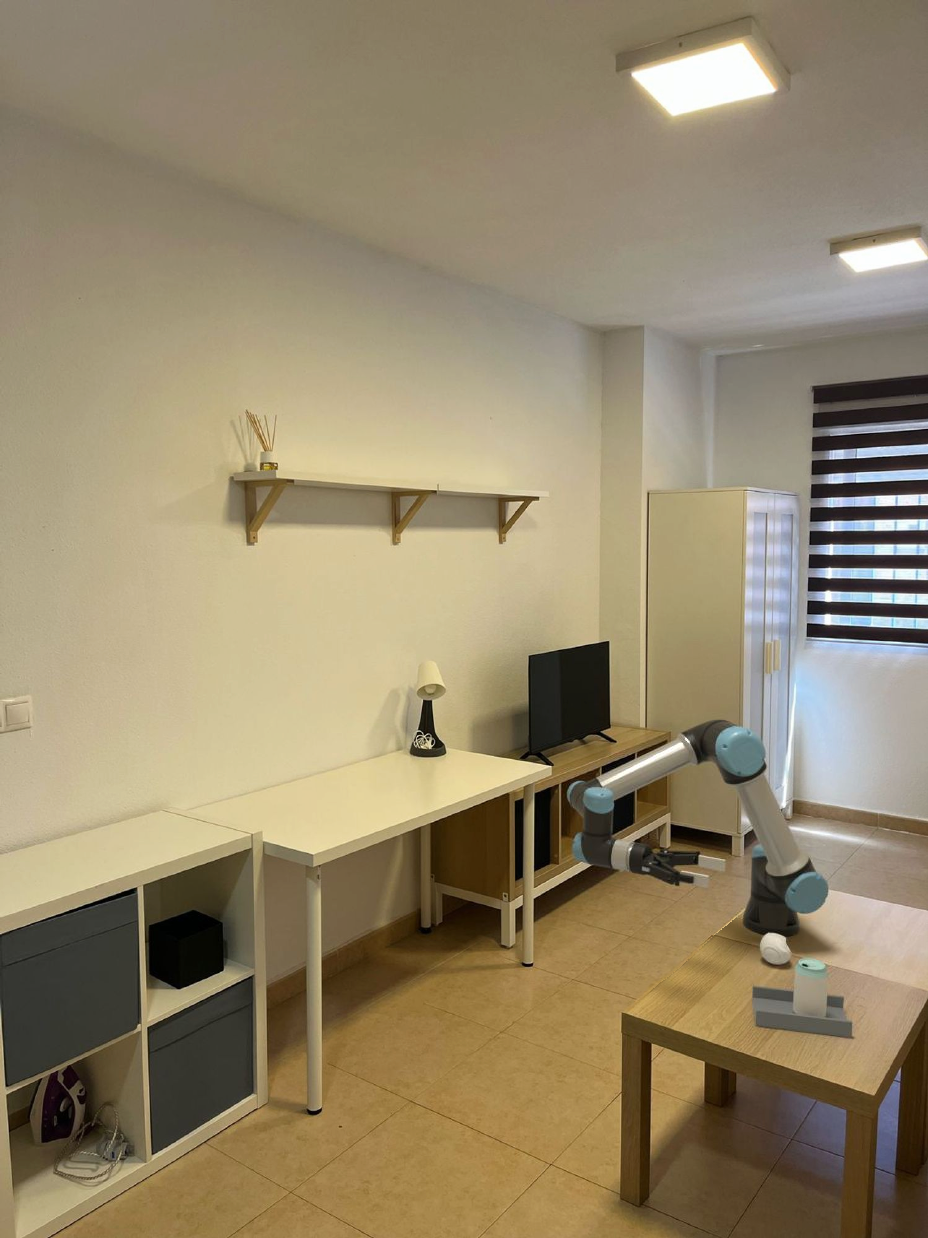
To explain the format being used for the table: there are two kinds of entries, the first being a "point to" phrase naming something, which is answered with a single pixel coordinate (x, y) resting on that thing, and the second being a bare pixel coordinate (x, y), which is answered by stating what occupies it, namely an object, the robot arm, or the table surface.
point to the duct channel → (778, 1013)
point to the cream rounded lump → (775, 949)
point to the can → (810, 988)
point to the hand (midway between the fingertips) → (717, 873)
